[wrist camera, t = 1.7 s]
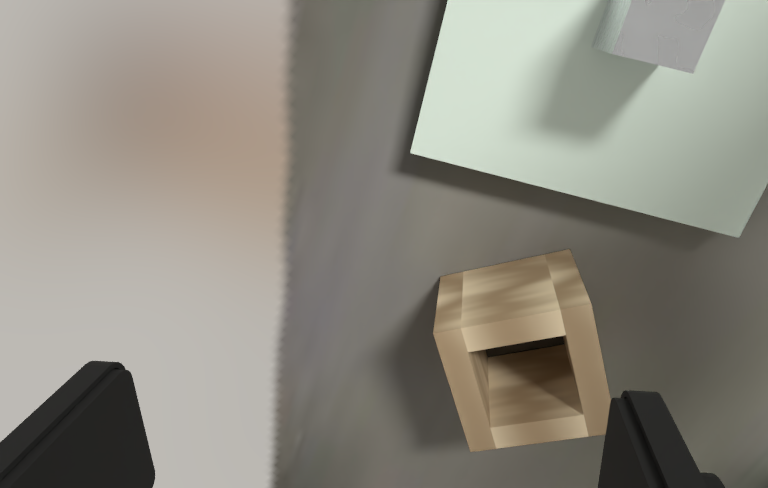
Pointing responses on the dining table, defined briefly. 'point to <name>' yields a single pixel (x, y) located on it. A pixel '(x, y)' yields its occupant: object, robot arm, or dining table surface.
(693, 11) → the post board
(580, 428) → the maple collar
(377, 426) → the dining table surface
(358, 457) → the dining table surface
